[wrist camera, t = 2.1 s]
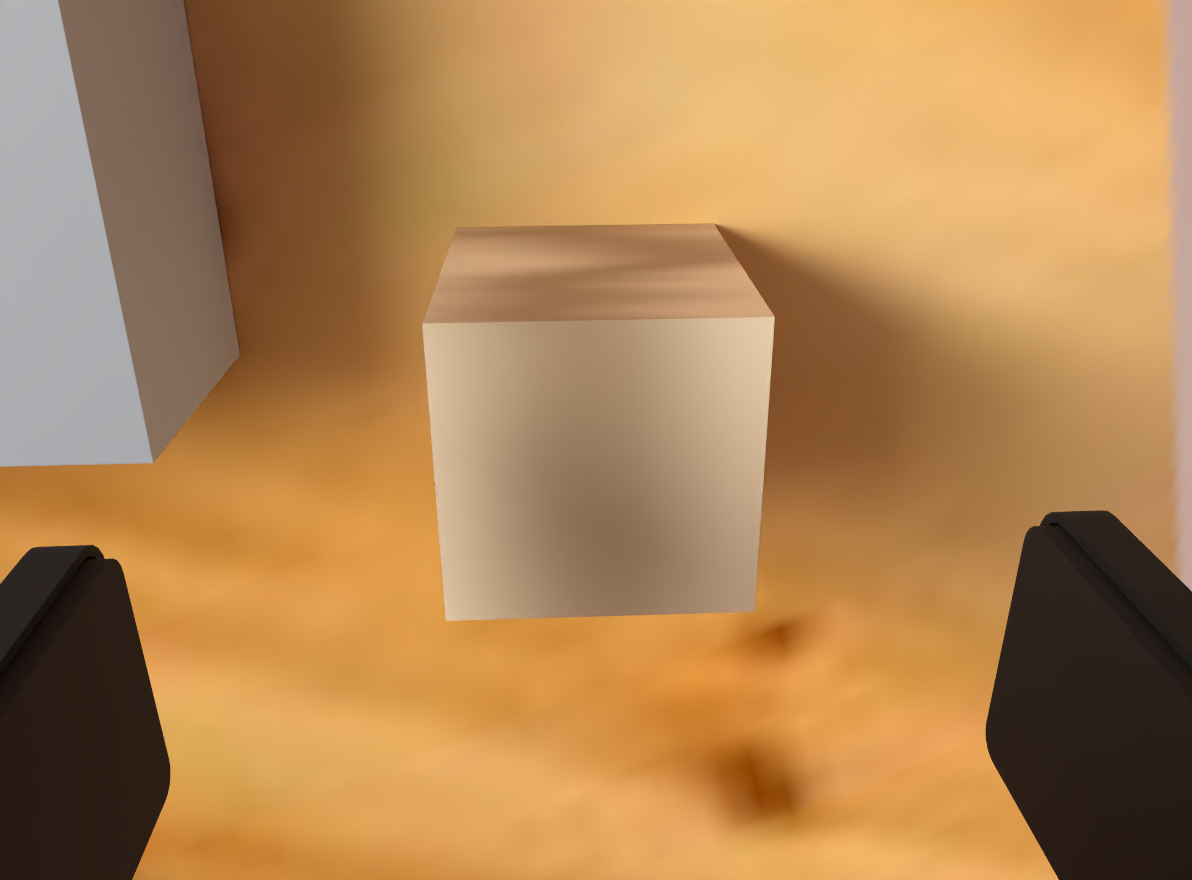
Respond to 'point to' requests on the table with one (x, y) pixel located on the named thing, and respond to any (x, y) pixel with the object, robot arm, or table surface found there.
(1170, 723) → the robot arm
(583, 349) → the birch block
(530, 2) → the table surface
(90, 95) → the grey block
